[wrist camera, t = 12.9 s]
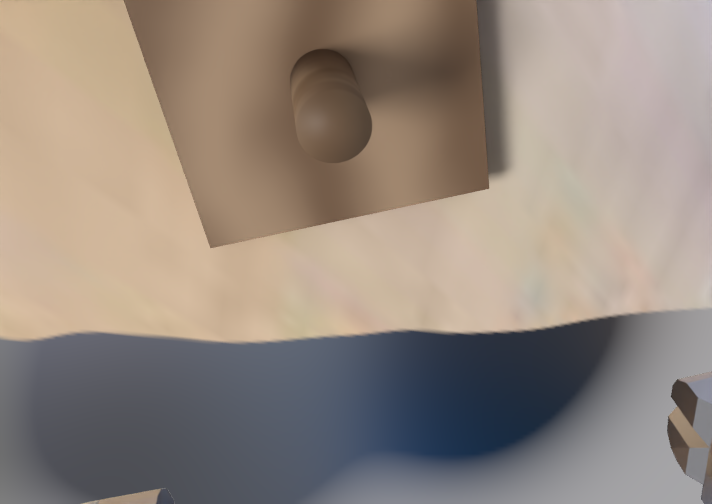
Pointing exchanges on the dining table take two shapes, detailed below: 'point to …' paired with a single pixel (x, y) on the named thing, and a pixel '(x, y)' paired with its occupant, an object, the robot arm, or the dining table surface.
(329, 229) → the dining table surface
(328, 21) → the lid
